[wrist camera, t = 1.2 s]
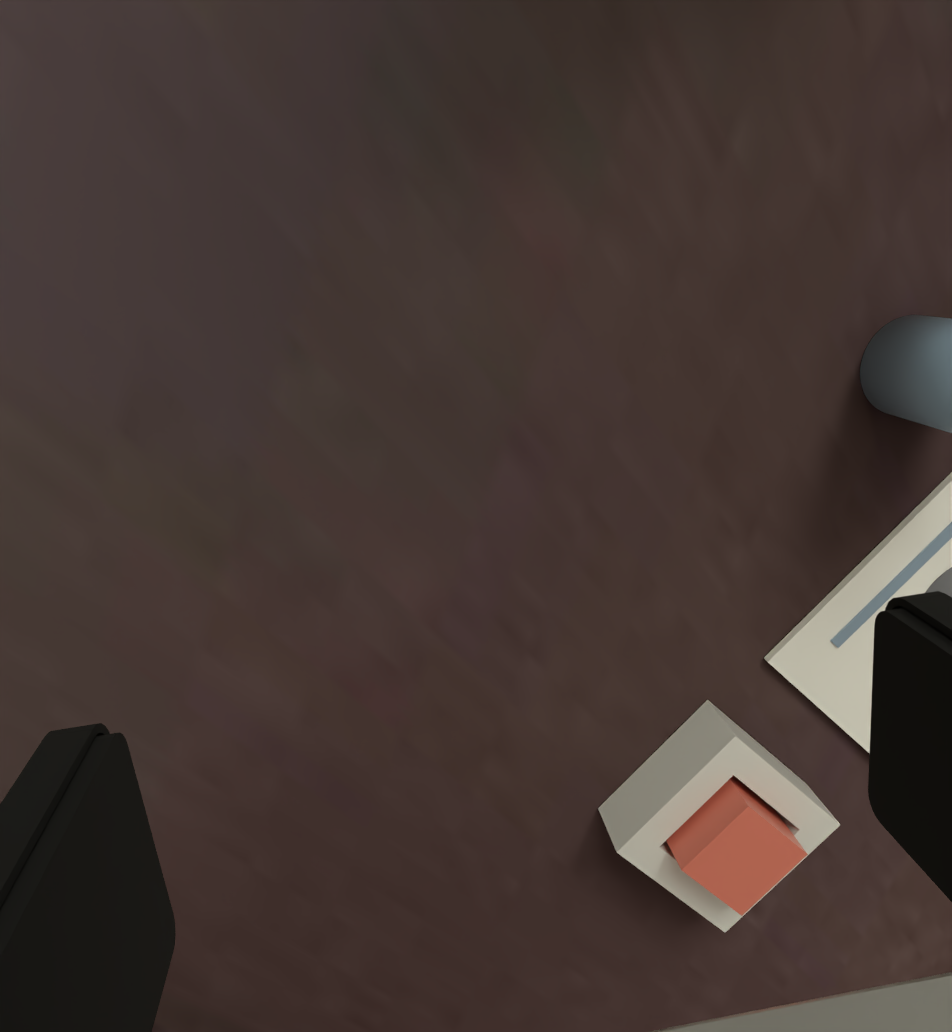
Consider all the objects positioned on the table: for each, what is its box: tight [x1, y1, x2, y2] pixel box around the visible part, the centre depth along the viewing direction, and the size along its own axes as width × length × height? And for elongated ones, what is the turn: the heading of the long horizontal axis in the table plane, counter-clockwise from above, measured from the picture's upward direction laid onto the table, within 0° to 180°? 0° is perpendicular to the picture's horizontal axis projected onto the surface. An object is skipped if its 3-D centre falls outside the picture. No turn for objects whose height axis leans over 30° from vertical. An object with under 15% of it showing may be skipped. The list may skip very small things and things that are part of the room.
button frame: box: [598, 700, 840, 932], centre depth 38 cm, size 7×7×3 cm
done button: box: [666, 776, 808, 916], centre depth 36 cm, size 4×4×3 cm
